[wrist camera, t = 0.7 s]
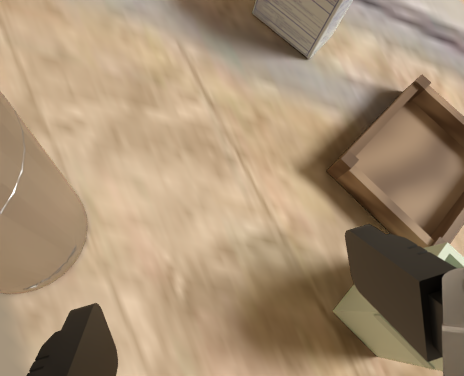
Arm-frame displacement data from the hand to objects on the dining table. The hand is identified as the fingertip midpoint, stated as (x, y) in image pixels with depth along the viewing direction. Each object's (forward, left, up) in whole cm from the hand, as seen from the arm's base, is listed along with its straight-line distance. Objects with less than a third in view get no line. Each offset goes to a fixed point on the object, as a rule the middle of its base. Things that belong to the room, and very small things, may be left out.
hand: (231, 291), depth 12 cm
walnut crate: (+6, +24, -18) cm, 30 cm away
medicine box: (-13, +27, -18) cm, 35 cm away
